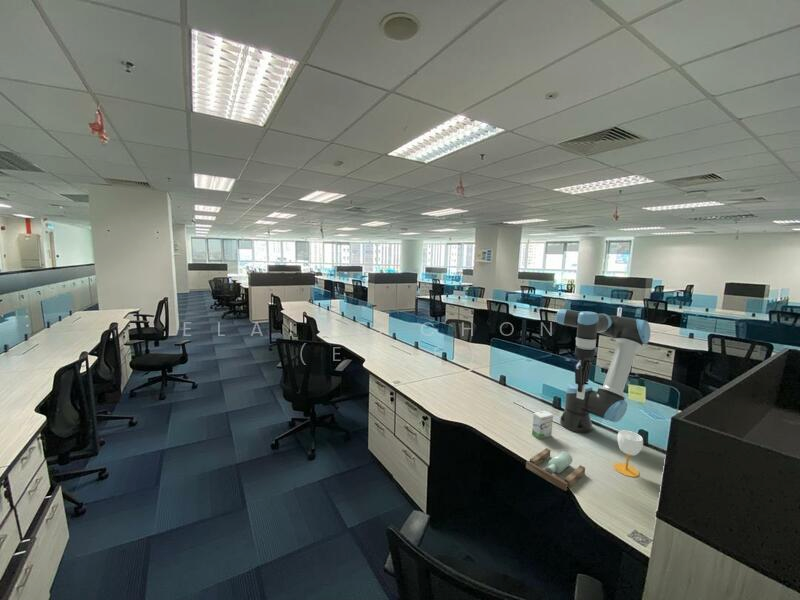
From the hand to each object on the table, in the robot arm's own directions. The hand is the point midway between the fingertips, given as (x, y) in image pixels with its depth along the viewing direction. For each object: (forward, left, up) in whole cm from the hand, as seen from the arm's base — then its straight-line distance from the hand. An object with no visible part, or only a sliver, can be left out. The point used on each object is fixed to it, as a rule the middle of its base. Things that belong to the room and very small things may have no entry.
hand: (580, 398), depth 144 cm
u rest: (+18, 0, -28) cm, 33 cm away
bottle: (+9, 0, -25) cm, 27 cm away
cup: (-8, +18, -28) cm, 34 cm away
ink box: (-4, -18, -28) cm, 34 cm away
